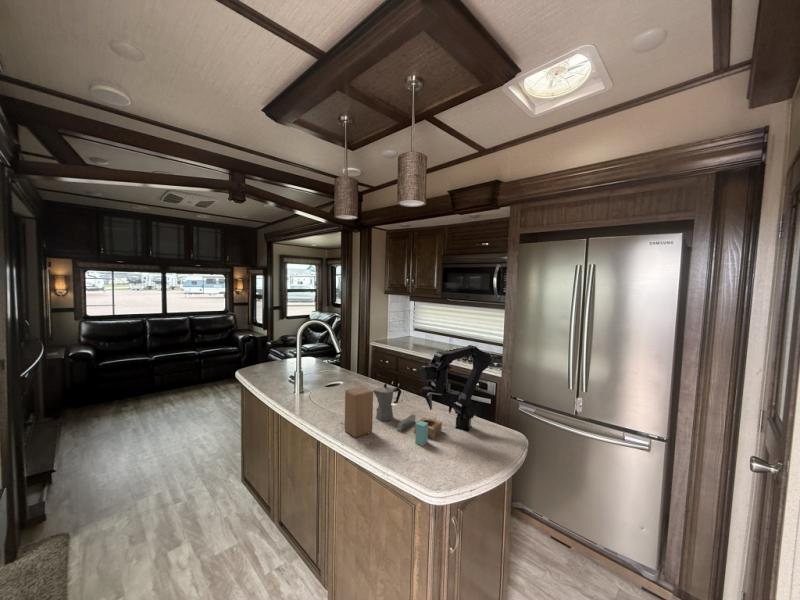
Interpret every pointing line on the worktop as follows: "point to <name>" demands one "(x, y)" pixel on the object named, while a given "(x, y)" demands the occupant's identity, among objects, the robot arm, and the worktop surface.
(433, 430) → the socket block
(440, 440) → the worktop surface
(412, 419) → the backstop wall
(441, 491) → the worktop surface
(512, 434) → the worktop surface
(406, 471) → the worktop surface
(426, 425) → the turquoise rectangular prism
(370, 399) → the block
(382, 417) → the coffeepot
